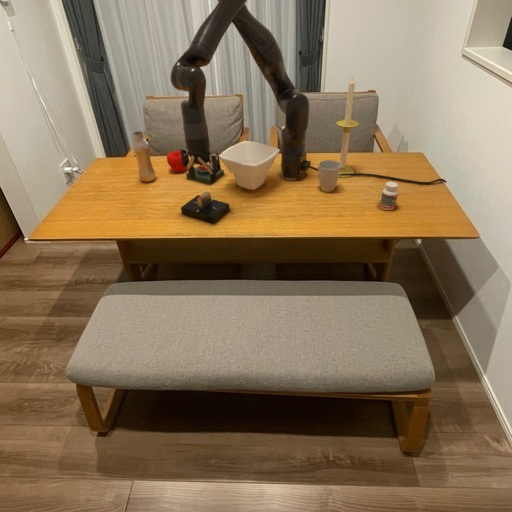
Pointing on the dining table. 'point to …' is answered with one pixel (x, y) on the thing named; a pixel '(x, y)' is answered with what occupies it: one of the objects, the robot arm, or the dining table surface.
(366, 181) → the dining table surface
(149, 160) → the plastic bottle
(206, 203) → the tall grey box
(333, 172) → the cup
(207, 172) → the dark grey base plate
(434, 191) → the dining table surface
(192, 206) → the panel
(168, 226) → the dining table surface
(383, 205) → the pill bottle
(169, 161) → the apple
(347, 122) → the candle
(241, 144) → the bowl
